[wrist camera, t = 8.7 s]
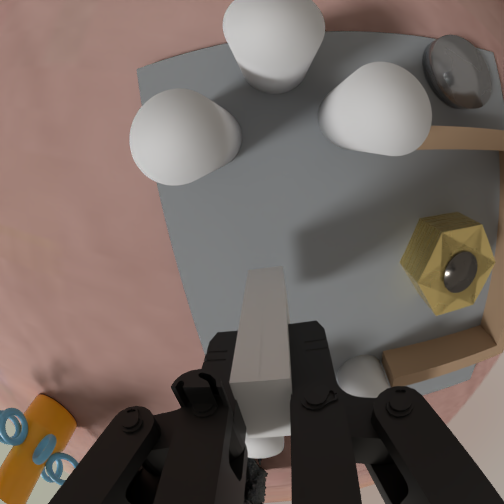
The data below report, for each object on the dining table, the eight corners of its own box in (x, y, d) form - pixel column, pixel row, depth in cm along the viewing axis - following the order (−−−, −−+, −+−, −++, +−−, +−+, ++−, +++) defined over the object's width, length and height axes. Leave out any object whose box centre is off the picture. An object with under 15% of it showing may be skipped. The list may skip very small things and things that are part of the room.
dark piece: (249, 425, 23) (148, 429, 26) (228, 490, 16) (115, 476, 19) (278, 476, 24) (185, 476, 27) (267, 532, 17) (163, 521, 20)
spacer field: (143, 72, 12) (79, 46, 7) (485, 54, 10) (547, 40, 4) (232, 415, 20) (222, 476, 15) (466, 373, 18) (493, 420, 13)
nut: (398, 221, 13) (419, 237, 11) (474, 208, 13) (500, 221, 10) (398, 298, 15) (415, 323, 13) (469, 280, 14) (490, 299, 12)
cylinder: (110, 450, 26) (72, 543, 12) (51, 429, 27) (9, 504, 13) (66, 384, 22) (-4, 497, 8) (7, 364, 23) (-57, 446, 9)
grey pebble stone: (414, 35, 10) (424, 29, 9) (470, 46, 9) (482, 42, 8) (429, 107, 11) (441, 105, 10) (484, 112, 11) (496, 112, 9)
